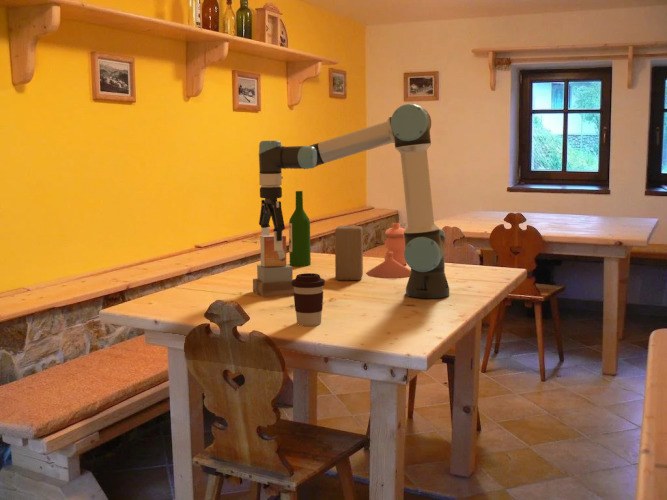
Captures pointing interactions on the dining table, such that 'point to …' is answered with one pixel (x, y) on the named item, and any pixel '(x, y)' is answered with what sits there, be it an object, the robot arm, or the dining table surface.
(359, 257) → the block
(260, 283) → the tower base
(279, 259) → the small box
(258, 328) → the dining table surface
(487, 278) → the dining table surface
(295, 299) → the coffee cup
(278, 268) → the tower top
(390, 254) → the ceramic vessels
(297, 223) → the wine bottle
